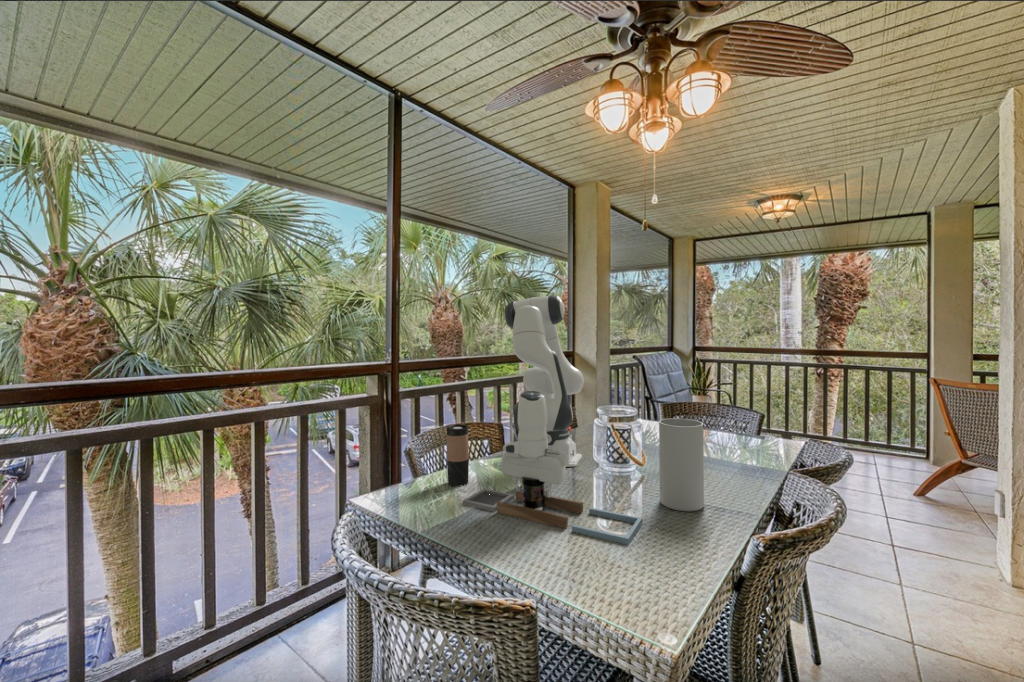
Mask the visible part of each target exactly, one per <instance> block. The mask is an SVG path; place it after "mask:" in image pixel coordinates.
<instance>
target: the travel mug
mask: <svg viewBox="0 0 1024 682" xmlns="http://www.w3.org/2000/svg"><path fill="white" fill-rule="evenodd" d="M469 451H470V450H469V426H468V425H466V424H454V425H453V426H446V465H447V467H446V468H447V483H448V485H449V484H450V485H449V486H451V485H453V486H452V487H461V486H460V485H463V486H465V485H464V484H466V485H468V484H469V470H470V469H469V464H470V461H469V458H470V456H469V455H470V453H469ZM467 483H468V484H467Z"/></svg>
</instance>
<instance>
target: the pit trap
mask: <svg viewBox="0 0 1024 682" xmlns="http://www.w3.org/2000/svg"><path fill="white" fill-rule="evenodd" d="M489 494H490V495H489ZM512 499H513V500H514V499H515V494H513V493H509V492H503V491H498V490H493V489H489V488H482V489H481V490H479V491H476V493H475V492H474V494H472V495H470V496H467V498H465V499H463V500H462V505H463V504H464V506H467V507H471V506H472V508H477V509H480V508H481V510H484V509H485V510H484V511H488V512H497V502H499V501H500V502H505V503H510V502H511V501H513V500H512ZM510 500H511V501H510ZM509 501H510V502H509Z"/></svg>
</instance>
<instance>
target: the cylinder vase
mask: <svg viewBox="0 0 1024 682" xmlns="http://www.w3.org/2000/svg"><path fill="white" fill-rule="evenodd" d="M658 436H659V437H658V439H659V440H658V443H659V444H658V447H659V448H658V449H659V452H658V455H659V457H658V458H659V464H658V465H659V466H658V467H659V501H660V503H661V505H662V506H664V507H665V508H668V509H671V510H674V511H678V512H687V513H689V512H691V513H692V512H697V511H699V510H702V509H703V508H704V507H705V506H704V505H705V493H704V492H705V491H704V489H705V486H704V485H705V483H704V482H705V479H704V478H705V476H704V475H705V471H704V469H705V464H704V422H702V421H699V420H696V419H689V418H679V417H678V418H672V417H671V418H662V419H660V420H659V421H658Z"/></svg>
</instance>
